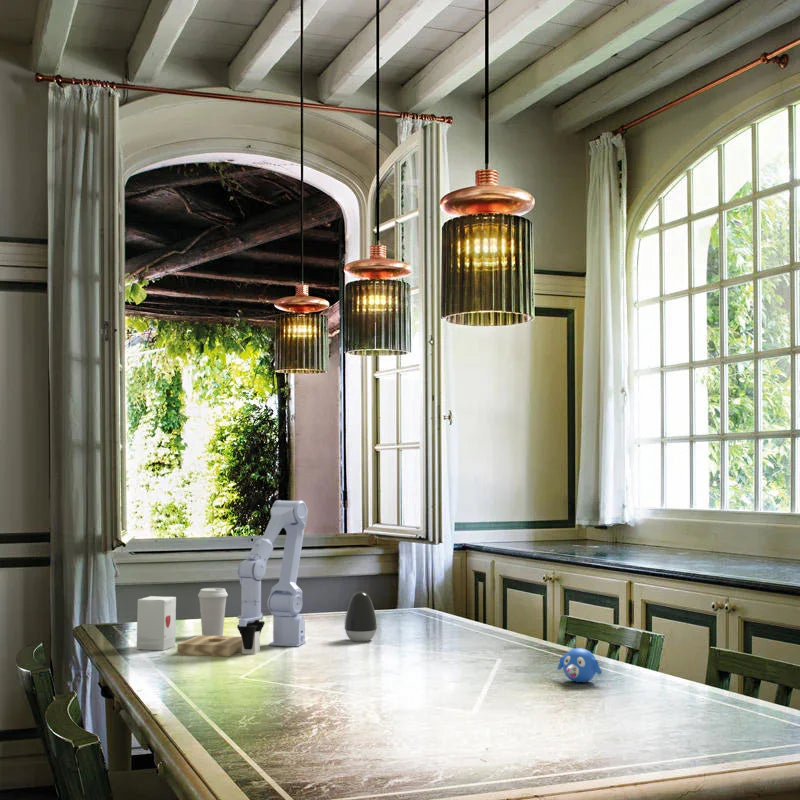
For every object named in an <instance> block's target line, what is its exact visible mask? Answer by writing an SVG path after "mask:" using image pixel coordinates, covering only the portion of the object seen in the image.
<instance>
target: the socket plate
mask: <svg viewBox="0 0 800 800" xmlns="http://www.w3.org/2000/svg"><path fill="white" fill-rule="evenodd" d="M176 648H177V655H186V656H187V655H188V656H189V655H190V656H210V657H230V656H233V655H236V654H238V653H239V652H242V637H241V636H230V635H229V636H228V635H226V636H225V635H223V636H205V635H202V634H201V635H200V634H199V635H197V636H195V637H192V638H190V639H187V640H184V641H182V642H179V643H177V646H176Z"/></svg>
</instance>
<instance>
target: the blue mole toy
mask: <svg viewBox="0 0 800 800" xmlns="http://www.w3.org/2000/svg"><path fill="white" fill-rule="evenodd" d="M561 669H563V673H564V675H565V676H566V677H567V678H568V680H570V681H572V682H574V681H576V682H575V683H578V682H583V683H586V682H585V681H587V682H589V681H591V680H592V679H593V678H594V677H595V675H596V674H597V675H601V674H602V673H603V672H602V669H601V667H600V666H599V662H598V660H597V659H596V657H595V655H594V653H592V652H591V651H590V650H588V649H587V648H584V647H583V648H581V647H575V648H572V649H570V650H569V651H567V652H566V654H565V655H562V657H560V658H559V663H558V666H557V670H560V671H561Z"/></svg>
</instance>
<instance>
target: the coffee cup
mask: <svg viewBox="0 0 800 800" xmlns="http://www.w3.org/2000/svg"><path fill="white" fill-rule="evenodd" d="M228 596H229V595H228V592H227V590H226V588H224V587H223V588H222V587H207V588H205V587H204V588H201V589H200V590H199V593H198V594H197V597H198V600H199V611H200V621H201V622H200V624H201V635H205V636H224V627H225V626H224V625H225V613H226V604H227V603H226V602H227V597H228Z"/></svg>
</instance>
